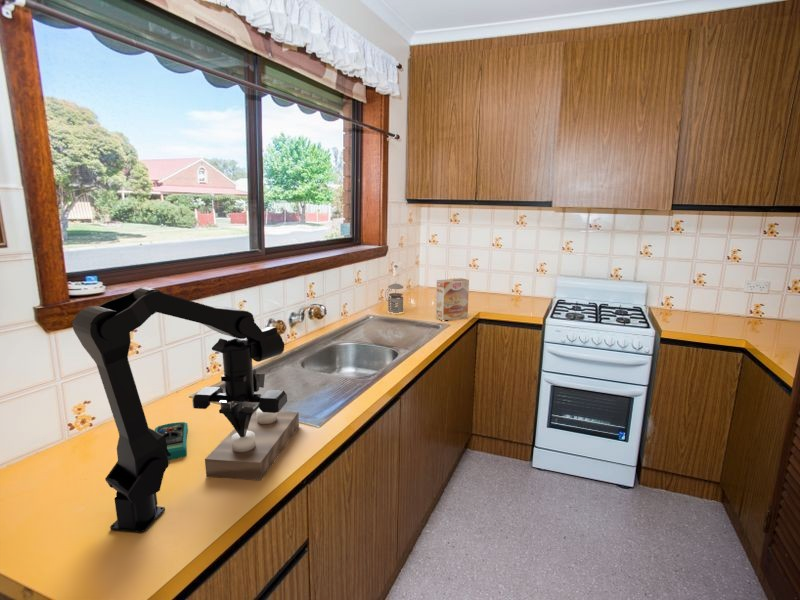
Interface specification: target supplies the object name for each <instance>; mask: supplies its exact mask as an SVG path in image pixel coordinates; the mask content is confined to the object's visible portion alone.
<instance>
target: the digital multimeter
mask: <svg viewBox="0 0 800 600" xmlns="http://www.w3.org/2000/svg"><path fill="white" fill-rule="evenodd" d="M188 427H189V426H188V422H185V421H184V422H183V421H180V422H171V423H166V424H162V425H158V426H157V427H155V428H154V431H156V432H158V433H160V434H162V435H163V436H165V438H166V443H167V449H168V451H169V453H170V454H171V456H167V457H168V460H169V461H172V460H176V459H179V458H184V457H187V455H188V450H187V439H188V431H189V428H188Z"/></svg>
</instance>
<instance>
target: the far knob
mask: <svg viewBox="0 0 800 600" xmlns="http://www.w3.org/2000/svg"><path fill="white" fill-rule="evenodd" d="M256 412H257V422H258V423H260V424H271V423H273V422H275V421H276V420H277V413H268V412H262V411H261V410H260V409H259V408H258V409H257V411H256Z"/></svg>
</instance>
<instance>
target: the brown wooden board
mask: <svg viewBox="0 0 800 600" xmlns="http://www.w3.org/2000/svg"><path fill="white" fill-rule="evenodd" d="M256 411H257V410H256ZM256 411H255V412H254V413H253V414H252V416H251V419H250V422H249V426H248V429H247V431H252V432H254V433H255V447H254V448H253V449H252V450H249V451H246V452H235V451H234V450H233V449H232V435H233V434H235V433H237V431H236V430H235V428H234V429H233V430H232V431H231V432H230V433H228V435H227V436H225V438H224V439H223V440H221V442H220V443H219V444H218V445H217V446H216V447H215V448H214V449H213V450H212V451H211V452H210V453H208V455H207V456H206V457H205V458H204V465H205V466H204V467H205V475H206V477H210V478H224V479H237V480H238V479H239V480H251V481H253V480H254V481H262V480H263V479H264V477H265V476H266V475H267V473H268V472H269V470H270V469H271V468H272V466H273V465H274V463H275V462H274V461H276V460H277V459H278V457H279V456H280V455H281V453H282V452H283V450H284V448H286V446H287V445H288V444H289V442H290V440H291V439H292V437H294V435H295V434H296V432H297V431H298V429H299V427H300V418H299V417H300V416H299V414H300V413H299V411H288V410H287V411H286V410H280V411H279V412H277V420H276V421H275V422H273V423H271V424H260V423H258V422H257V412H256ZM279 454H280V455H279ZM272 464H273V465H272ZM265 474H266V475H265Z"/></svg>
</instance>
